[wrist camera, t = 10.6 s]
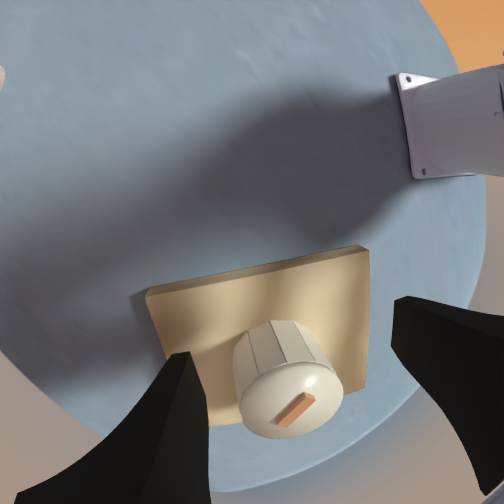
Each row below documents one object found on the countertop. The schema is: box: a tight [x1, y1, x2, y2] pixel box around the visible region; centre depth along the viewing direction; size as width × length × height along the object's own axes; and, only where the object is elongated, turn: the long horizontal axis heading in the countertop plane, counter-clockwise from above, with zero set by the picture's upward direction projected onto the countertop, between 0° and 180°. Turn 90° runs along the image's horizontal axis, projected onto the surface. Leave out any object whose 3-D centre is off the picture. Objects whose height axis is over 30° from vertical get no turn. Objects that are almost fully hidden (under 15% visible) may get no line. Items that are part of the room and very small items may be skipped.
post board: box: [145, 245, 370, 427], centre depth 17 cm, size 14×12×5 cm
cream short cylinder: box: [232, 320, 343, 439], centre depth 16 cm, size 6×6×5 cm
